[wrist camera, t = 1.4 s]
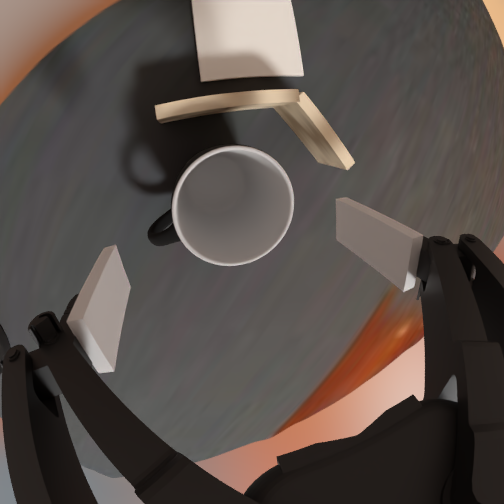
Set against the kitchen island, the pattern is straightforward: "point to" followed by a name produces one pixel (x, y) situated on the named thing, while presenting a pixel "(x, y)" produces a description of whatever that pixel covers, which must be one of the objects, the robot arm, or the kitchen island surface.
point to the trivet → (246, 39)
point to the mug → (228, 206)
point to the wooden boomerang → (287, 106)
